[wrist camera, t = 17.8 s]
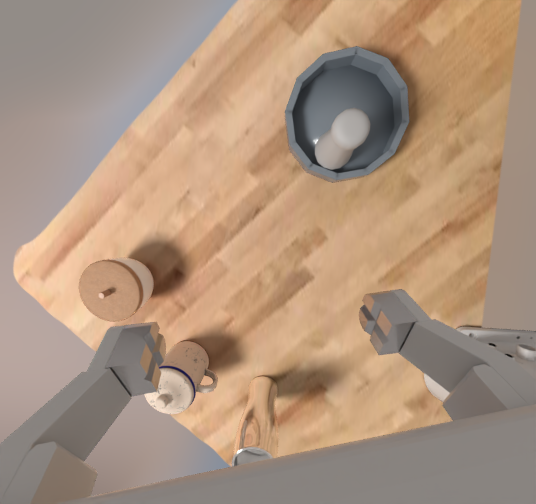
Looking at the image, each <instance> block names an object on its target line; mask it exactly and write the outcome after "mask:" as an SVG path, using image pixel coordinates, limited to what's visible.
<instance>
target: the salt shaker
mask: <svg viewBox="0 0 536 504" xmlns="http://www.w3.org/2000/svg"><path fill="white" fill-rule="evenodd" d="M369 131H370V121H369V118H368V116H367V115H366V114H365V113H364V112H363V111H362V110H360V109H356V108H351V109H346V110H344V111H343V112H342V113H341V114H339V115H338V116H337V117H336V119H335V120H334V122H333V124H332V126H331V129H330V130H328V131H327V132H326V133H324V134H323V135H322V136H320V138H319V139H318V141H317V143H316V145H315V156H316V159H317V162H318V163H319V164H320V165H321V166H323V167H324V168H327V169H330V170H333V169H338V168H341V167H342V166H344V165H345V164H347V162H348V161H349V159H350V157H351V156H352V153H353V150H354V149H355V148H357V147H358V146H360V145H361V144H362V143H364V141H365V139H366V138H367V136H368V134H369Z"/></svg>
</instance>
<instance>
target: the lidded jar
mask: <svg viewBox="0 0 536 504" xmlns="http://www.w3.org/2000/svg"><path fill="white" fill-rule="evenodd" d="M153 288H154V281H153V276H152V274H151V272H150V270H149V269H148V268H147V267H146V266H145V265H144V264H142V263H141V262H139V261H137V260H134V259H131V258H112V259H108V260H102V261H98V262H95V263H93V264H91V265H90V266H88V267H87V268H86V269H85V270H84V272H83V273H82V275H81V278H80V282H79V292H80V296H81V299H82V301H83V303H84V305H85V306H86V307H87V309H88V310H89V311H90V312H91V313H92V314H94V315H95V316H97V317H98V318H100V319H103V320H106V321H112V322H116V321H122V320H125V319H127V318H129V317H131V316H132V315H133V314H134V313H136V312H137V311H138V310H139V309H140V308H142V307H143V306H144V305H145V304H146V302H147V301H148V300H149V298H150V297H151V295H152V292H153Z"/></svg>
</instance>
